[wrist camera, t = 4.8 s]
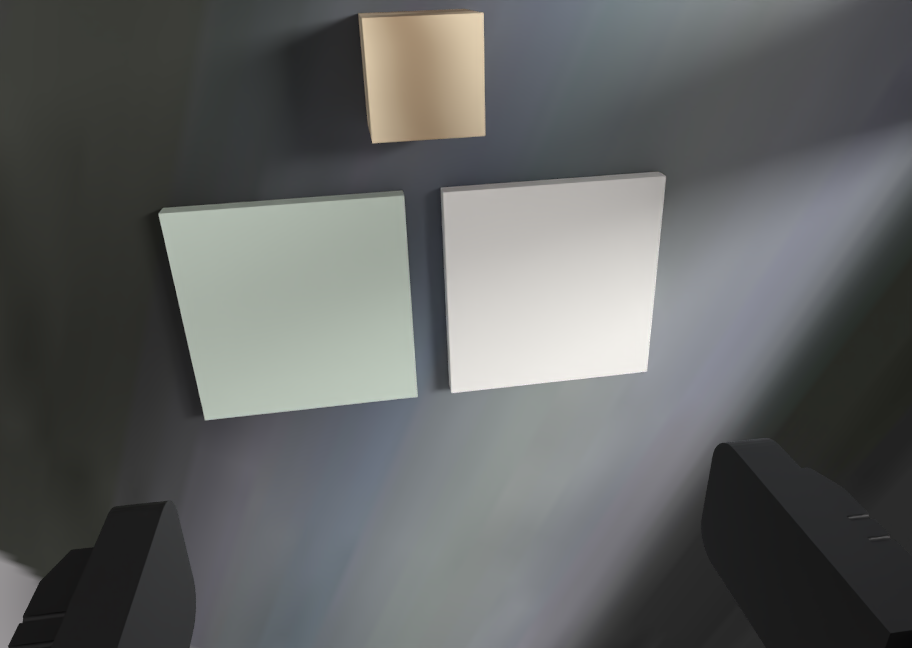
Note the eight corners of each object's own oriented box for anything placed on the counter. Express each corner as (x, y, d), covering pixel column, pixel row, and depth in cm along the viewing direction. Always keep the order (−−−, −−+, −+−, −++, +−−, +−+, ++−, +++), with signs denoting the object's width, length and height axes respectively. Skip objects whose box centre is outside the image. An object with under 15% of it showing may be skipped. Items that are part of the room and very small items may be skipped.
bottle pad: (402, 190, 37) (404, 195, 36) (415, 388, 42) (417, 396, 41) (162, 208, 35) (158, 213, 34) (207, 410, 41) (204, 420, 40)
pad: (658, 171, 38) (666, 175, 38) (640, 363, 44) (646, 371, 43) (440, 187, 37) (443, 192, 36) (448, 384, 42) (451, 393, 41)
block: (463, 8, 34) (483, 12, 29) (466, 116, 36) (485, 135, 31) (358, 13, 33) (361, 18, 28) (367, 122, 35) (372, 143, 31)
